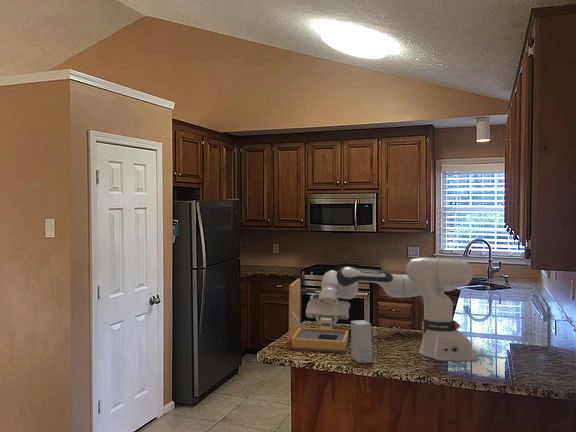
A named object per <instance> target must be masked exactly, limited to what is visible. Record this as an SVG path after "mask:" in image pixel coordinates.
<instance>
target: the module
mask: <svg viewBox="0 0 576 432" xmlns="http://www.w3.org/2000/svg"><path fill="white" fill-rule="evenodd" d="M319 321H320V326H319V329H333V326H332V325H331V323H332V321H333V319H332V318H331V317H321V318H319Z"/></svg>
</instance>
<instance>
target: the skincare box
mask: <svg viewBox="0 0 576 432" xmlns="http://www.w3.org/2000/svg"><path fill="white" fill-rule="evenodd" d="M350 344H351V345H350V347H351V349H350V350H351V359H353V360H354V361H355V362H356V363H357V364H360V363H361V364H362V363H363V364H364V363H365V364H366V363H372V362H373V356H372V355H373V352H372V350H373V349H372V347H373V345H372V323H370V322H368V321H366V320H364V319H363V320H361V319H360V320H357V319H356V320H351V321H350Z"/></svg>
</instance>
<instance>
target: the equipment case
mask: <svg viewBox="0 0 576 432" xmlns="http://www.w3.org/2000/svg"><path fill="white" fill-rule="evenodd" d="M288 290H289V292H288V293H289V294H288V339H291V344H290V345H291V348H290V349H291V350H296V351H309V352H310V351H312V352H323V353H324V352H326V353H327V352H328V353H340V354H341V353H343V354H345V353H346V350H347V347H348V344H349V333H350V332H349V329H334V328H332V329H320V327H319V328H317V327H316V328H315V327H304V326H303V325H302V324H301V278H297V279H296V280H295V281H293V282H292V283H291V284H289V287H288Z"/></svg>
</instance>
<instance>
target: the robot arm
mask: <svg viewBox="0 0 576 432" xmlns="http://www.w3.org/2000/svg"><path fill="white" fill-rule="evenodd" d="M473 274H474V272H473V267H472V266H471V264H470V263H469V262H468V261H465V260H461V259H457V258H441V257H425V256H423V257H414V258H411V259H410V260H409V262H408V263H407V266H406V274H396V273H391V272H389V271H386V270H381V269H368V268H367V269H366V268H365V269H364V268H357V267H354V266H351V265H350V266H349V265H348V266H347V265H346V266H342V267H340V268H339V269H338V270H337V271H336V270H333V269H332V270H328V271H327V272H325V273H324V275H323V276H322V280H321V286H320V288H321V291H320V293H316V294H312V295H310V297H309V298H310V299H309V301H308V302H307V305H306V309H305V316H306V317H307V318H311V319H313V318H314V319H316V320H315V321H317V326H318V327H320V319H321V317H331V318H332V323H331V325H332V327H335V326H336V324H337V322H338V320H348V319H349V318H350V313H349V312H350V310H349V309H350V308H351V303H350V302H349V301H347V300H352V299H353V300H354V299H355V298H356V297H357V296H358V294H359V282H360V283H372V284H373V283H374V284H378V285H379V286H380V287H382V289H383V291H384V292H385V294H386V295H387V296H388V297H391V298H398V299H401V298H403V299H404V298H414V297H417V300H420V302H421V303H422V305H423V317H422V327H421V328H422V340H421V345H420V348H419V352H418V353H419V354H420V355H421V356H423V357H427V358H429V359H430V358H431V359H434V360H437V361H445V362H446V361H448V362H449V361H450V362H452V361H453V362H454V361H455V362H456V361H458V362H461V361H462V362H464V361H465V362H467V361H468V362H473V361H474V362H477V360H478V359H479V355H478V353H477V352H476V351H475V350H473V347H472V343H471V341H470V339H469V338H468V337H467V336H466V335H464V333H462V332H461V331H459V330H458V329H460V328H461V326H460V323H458V322H457V321H456V320H454V319H453V308H454V307H453V306H454V304H453V301H452V299H451V298H450V297H449V296H448V295H447V294H445V292H451V291H454V290H455V289H457V288H458V287H463V286H465V287H466V286H468V285H469V284H470V283H471V281H472V279H473V277H474V276H473ZM418 296H420V297H418ZM339 299H341V300H339ZM342 299H343V300H342Z"/></svg>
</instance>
